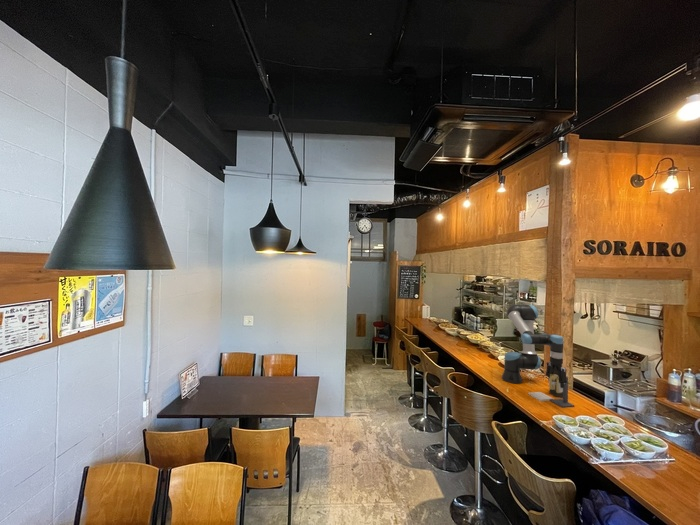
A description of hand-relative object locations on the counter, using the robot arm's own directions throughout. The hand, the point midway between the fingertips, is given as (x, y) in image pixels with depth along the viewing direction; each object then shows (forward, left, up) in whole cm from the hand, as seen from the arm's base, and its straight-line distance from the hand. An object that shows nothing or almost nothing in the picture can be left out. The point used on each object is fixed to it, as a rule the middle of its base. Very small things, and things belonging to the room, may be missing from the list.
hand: (555, 389), depth 203 cm
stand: (0, +3, -10) cm, 11 cm away
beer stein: (-15, +16, -11) cm, 24 cm away
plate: (-11, -2, -11) cm, 15 cm away
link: (0, 0, -1) cm, 1 cm away
